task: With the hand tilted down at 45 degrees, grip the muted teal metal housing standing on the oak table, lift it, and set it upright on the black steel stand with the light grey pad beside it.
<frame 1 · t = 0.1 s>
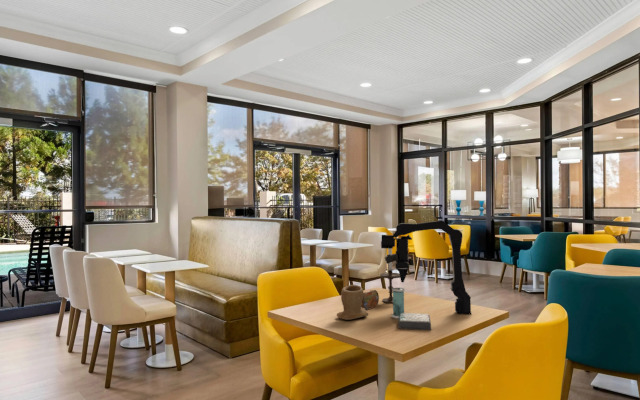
hand: (402, 280, 205), 15 cm above the table, tool pointing down, fingers open, 9 cm apart
stand: (414, 325, 179), on the table
tin: (369, 308, 211), on the table
housing: (398, 317, 192), on the table
stone cup: (354, 318, 192), on the table
candlestick: (390, 301, 224), on the table
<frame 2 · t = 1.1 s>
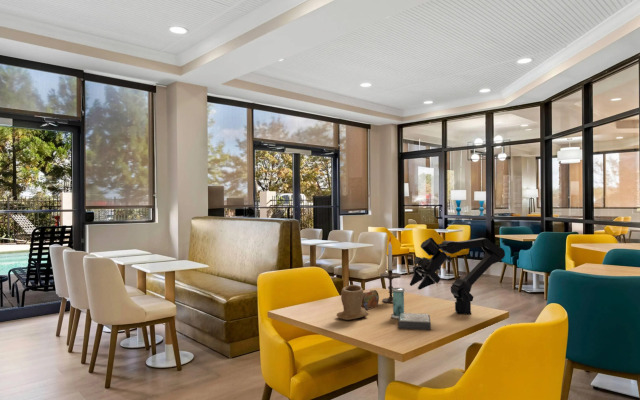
hand: (414, 287, 194), 13 cm above the table, tool tilted 45°, fingers open, 9 cm apart
nothing on the table moved.
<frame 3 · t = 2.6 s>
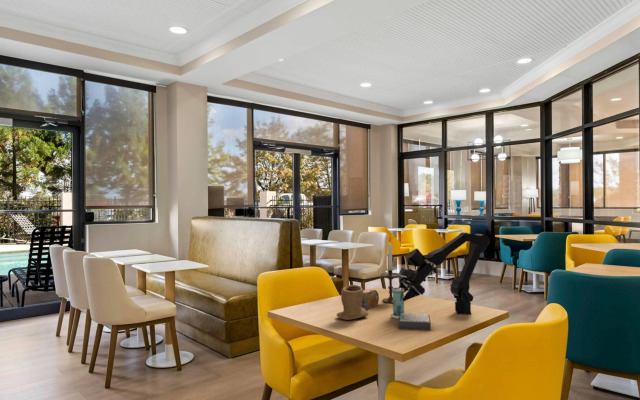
hand: (399, 298, 193), 9 cm above the table, tool tilted 45°, fingers open, 9 cm apart
nothing on the table moved.
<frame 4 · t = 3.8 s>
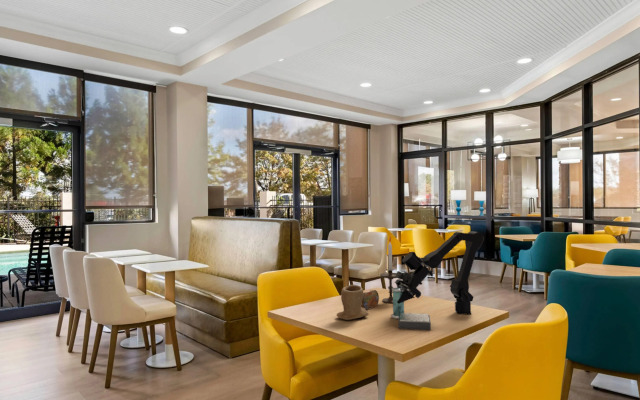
hand: (395, 301, 192), 7 cm above the table, tool tilted 45°, fingers closed on housing, 5 cm apart
housing: (398, 317, 192), on the table, touching gripper
everything else where it was.
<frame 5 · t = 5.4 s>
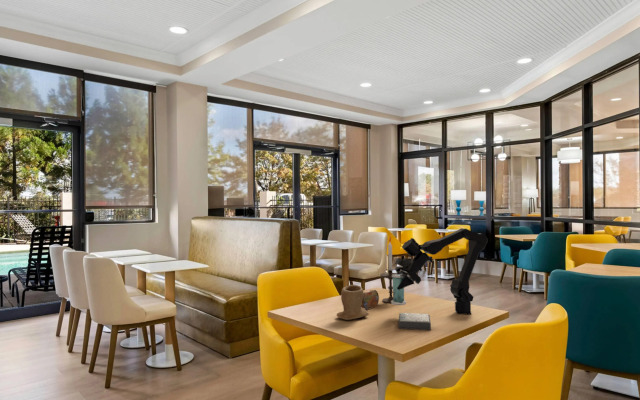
hand: (395, 288, 192), 13 cm above the table, tool tilted 45°, fingers closed on housing, 5 cm apart
housing: (398, 303, 192), point 6 cm above the table, touching gripper
everything else where it was.
when the fingers open (12 cm above the table, at t = 7.4 s): housing drops 1 cm, resting on stand.
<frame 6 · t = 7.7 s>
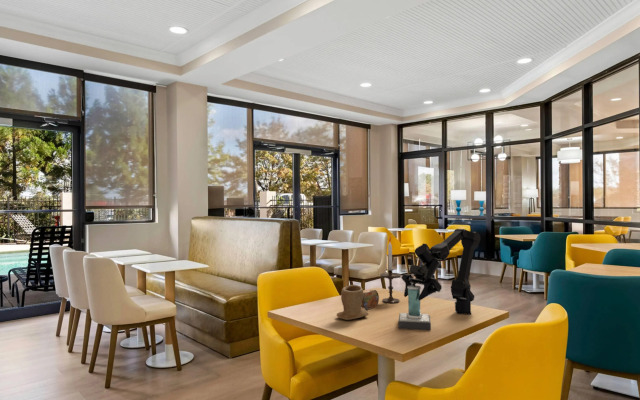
hand: (411, 298, 179), 12 cm above the table, tool tilted 45°, fingers open, 8 cm apart
housing: (414, 316, 179), point 3 cm above the table, touching stand
everything else where it was.
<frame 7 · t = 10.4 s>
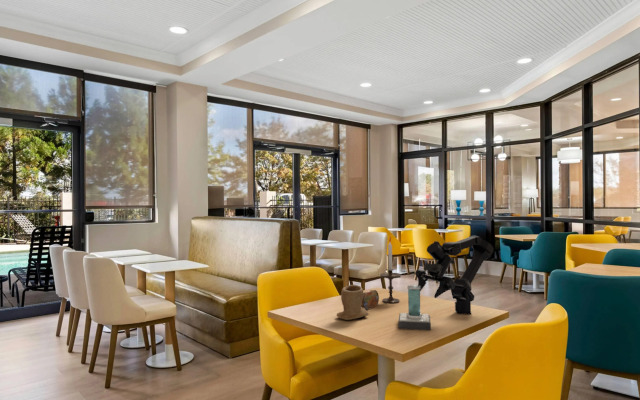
hand: (426, 294, 186), 12 cm above the table, tool tilted 40°, fingers open, 9 cm apart
nothing on the table moved.
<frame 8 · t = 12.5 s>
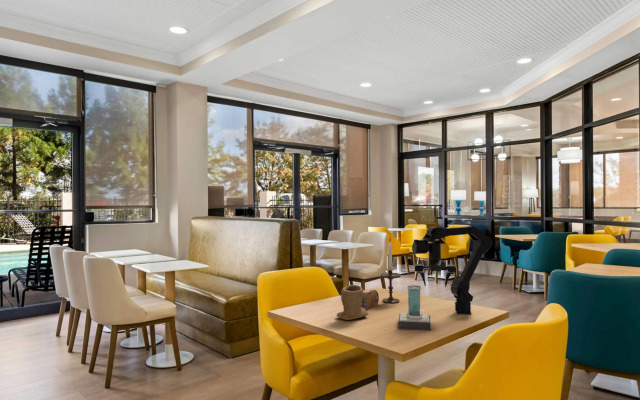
hand: (435, 286, 197), 13 cm above the table, tool pointing down, fingers open, 9 cm apart
nothing on the table moved.
at the end: housing 0.1 cm off-centre on the stand, point 3.5 cm above the stand's base; housing tilted 0°; the gripper is holding nothing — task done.
